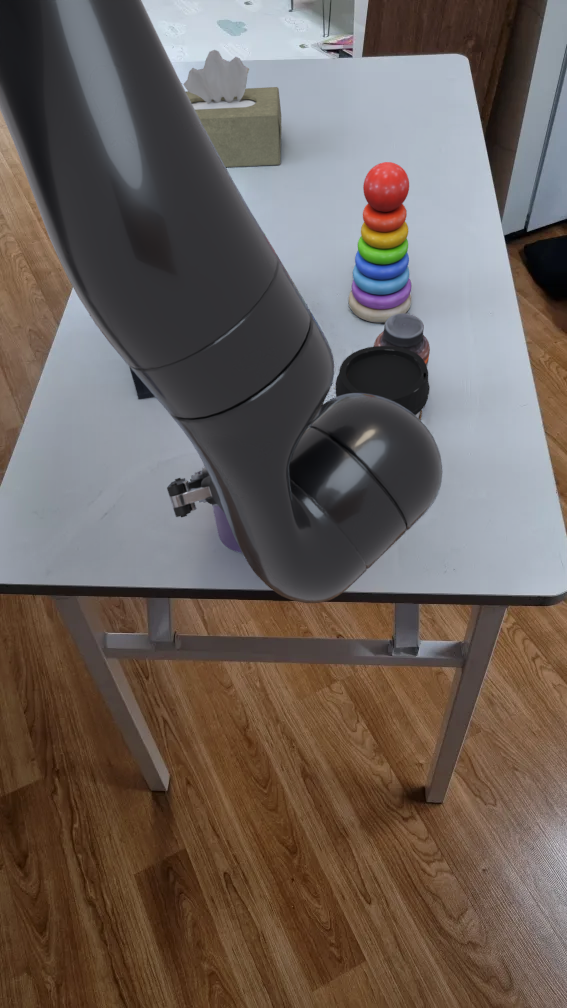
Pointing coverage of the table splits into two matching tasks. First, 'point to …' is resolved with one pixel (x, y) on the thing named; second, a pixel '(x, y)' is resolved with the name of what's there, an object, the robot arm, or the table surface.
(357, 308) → the stacking toy
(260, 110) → the tissue box
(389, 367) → the coffee cup
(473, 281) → the table surface
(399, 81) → the table surface
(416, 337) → the supplement bottle
